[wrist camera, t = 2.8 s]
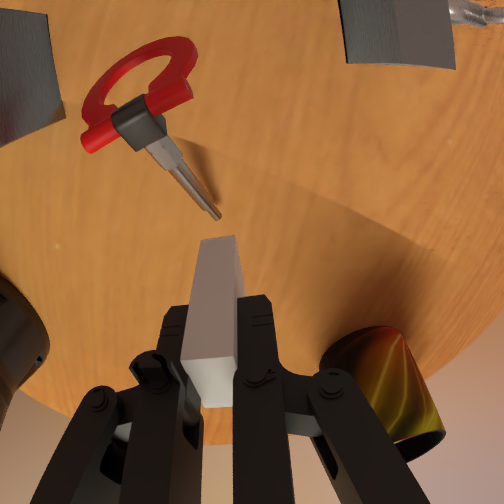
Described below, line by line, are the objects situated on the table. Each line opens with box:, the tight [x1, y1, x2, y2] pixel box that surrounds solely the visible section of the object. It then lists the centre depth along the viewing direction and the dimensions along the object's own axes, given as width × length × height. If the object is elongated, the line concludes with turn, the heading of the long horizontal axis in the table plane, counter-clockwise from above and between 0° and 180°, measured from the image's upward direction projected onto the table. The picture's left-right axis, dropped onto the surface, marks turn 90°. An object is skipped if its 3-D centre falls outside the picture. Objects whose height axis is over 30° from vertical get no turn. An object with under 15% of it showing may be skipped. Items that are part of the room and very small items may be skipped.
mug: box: [319, 326, 446, 463], centre depth 26 cm, size 10×14×12 cm
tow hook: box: [80, 36, 222, 221], centre depth 17 cm, size 7×10×7 cm
